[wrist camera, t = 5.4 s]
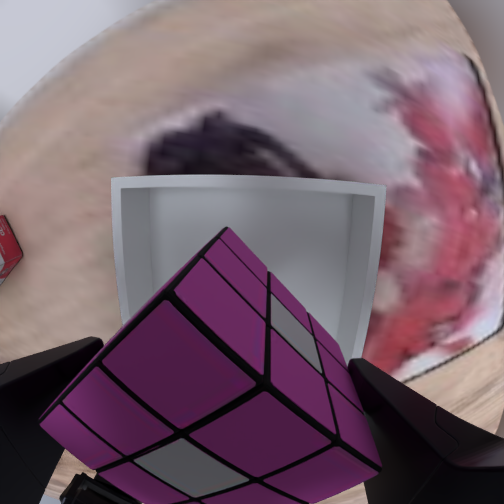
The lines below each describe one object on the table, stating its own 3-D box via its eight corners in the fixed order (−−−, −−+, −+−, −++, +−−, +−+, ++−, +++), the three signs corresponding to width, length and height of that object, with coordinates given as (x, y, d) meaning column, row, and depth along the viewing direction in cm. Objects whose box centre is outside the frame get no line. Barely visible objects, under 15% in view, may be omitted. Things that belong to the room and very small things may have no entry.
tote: (324, 416, 22) (331, 453, 18) (164, 404, 23) (148, 439, 19) (360, 183, 18) (386, 185, 13) (144, 177, 19) (111, 177, 14)
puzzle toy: (226, 418, 11) (204, 533, 5) (121, 327, 10) (35, 423, 5) (339, 344, 10) (386, 472, 4) (227, 223, 9) (164, 287, 4)
